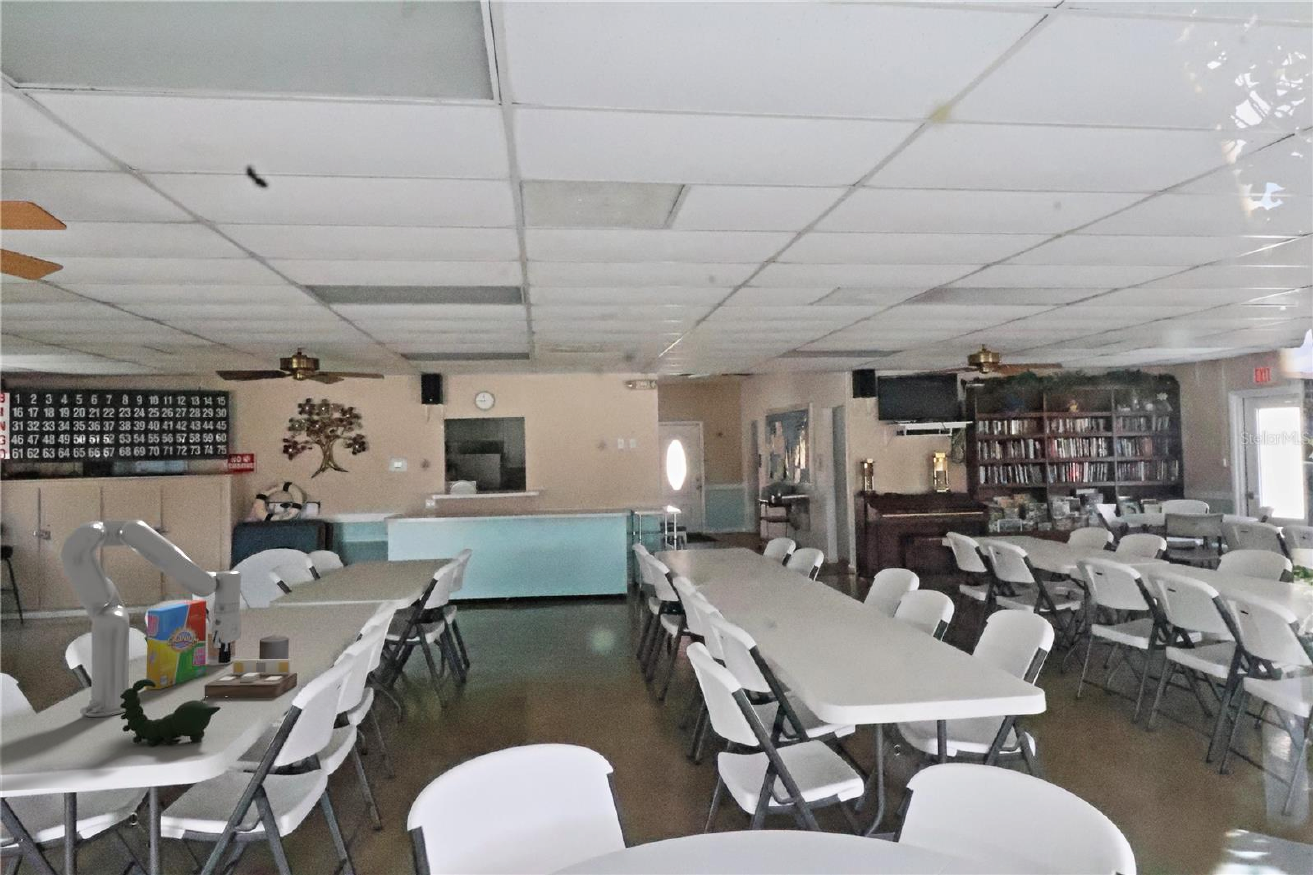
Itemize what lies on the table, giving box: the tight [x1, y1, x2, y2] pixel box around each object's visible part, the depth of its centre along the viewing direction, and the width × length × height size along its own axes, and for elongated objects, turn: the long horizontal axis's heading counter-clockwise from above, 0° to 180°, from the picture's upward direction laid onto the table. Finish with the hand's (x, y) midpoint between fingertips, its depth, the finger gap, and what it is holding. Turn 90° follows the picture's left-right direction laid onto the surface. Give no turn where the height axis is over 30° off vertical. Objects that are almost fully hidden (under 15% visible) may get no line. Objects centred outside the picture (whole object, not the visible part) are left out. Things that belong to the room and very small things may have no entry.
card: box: [232, 658, 291, 675], centre depth 262 cm, size 1×20×5 cm, turn 89°
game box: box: [145, 599, 207, 690], centre depth 269 cm, size 21×6×27 cm, turn 168°
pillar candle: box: [258, 635, 290, 659], centre depth 274 cm, size 10×10×15 cm
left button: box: [218, 677, 236, 682], centre depth 255 cm, size 4×4×2 cm
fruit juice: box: [207, 599, 236, 666], centre depth 294 cm, size 9×9×28 cm
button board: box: [204, 672, 298, 698], centre depth 256 cm, size 14×24×4 cm, turn 89°
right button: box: [265, 676, 283, 682], centre depth 255 cm, size 4×4×2 cm
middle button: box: [241, 673, 259, 682], centre depth 255 cm, size 4×4×2 cm
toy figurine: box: [120, 679, 221, 747], centre depth 209 cm, size 9×19×25 cm
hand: (224, 662), depth 255 cm, fingers closed
